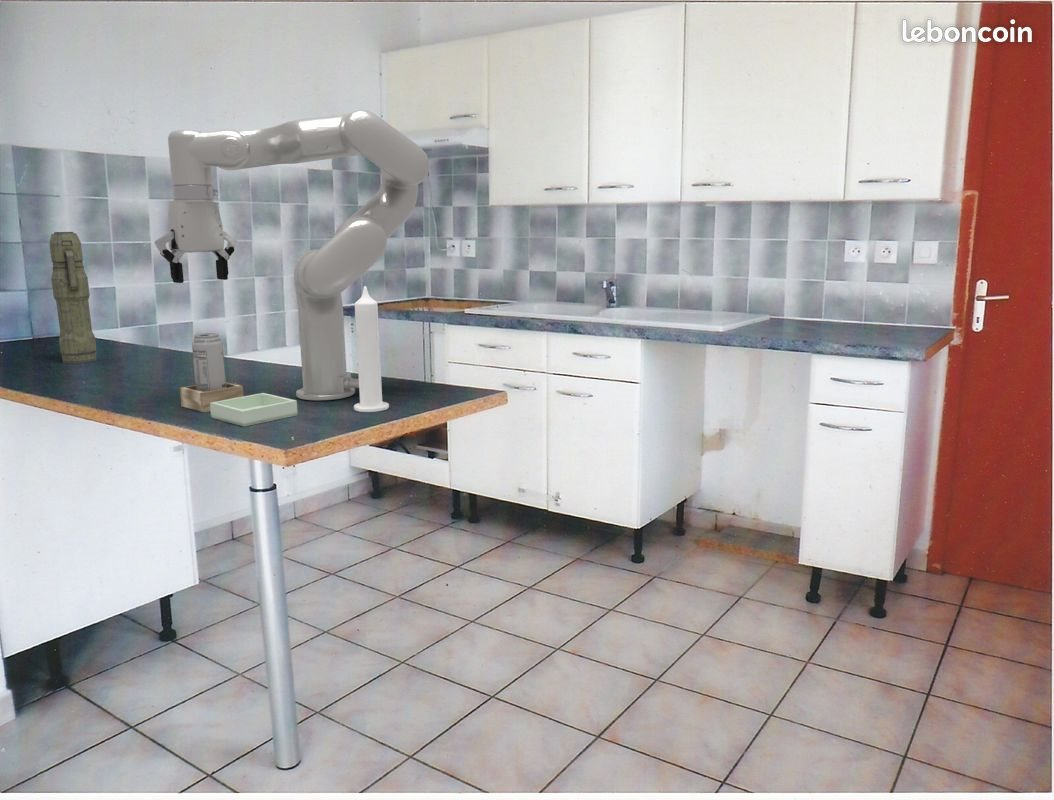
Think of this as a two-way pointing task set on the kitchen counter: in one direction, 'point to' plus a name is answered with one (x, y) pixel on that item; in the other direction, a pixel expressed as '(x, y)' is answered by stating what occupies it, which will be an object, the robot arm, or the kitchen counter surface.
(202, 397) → the wooden square frame
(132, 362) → the kitchen counter surface
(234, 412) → the tray
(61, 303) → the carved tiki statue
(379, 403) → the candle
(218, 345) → the energy drink can
